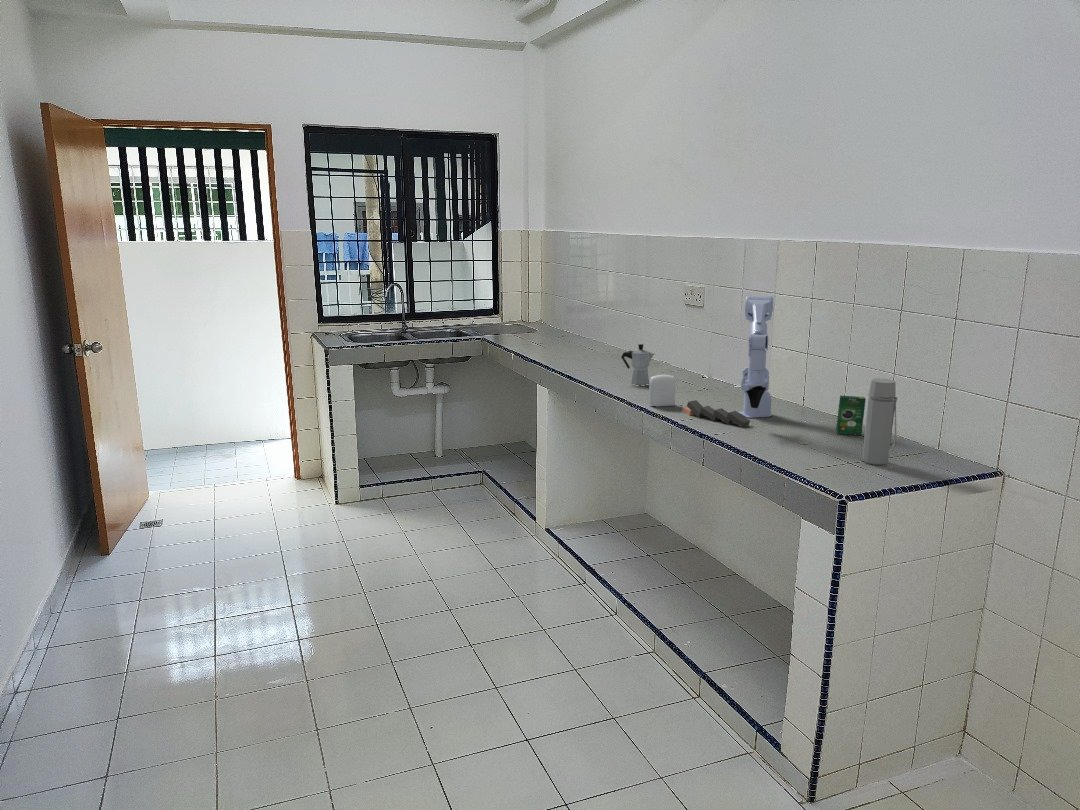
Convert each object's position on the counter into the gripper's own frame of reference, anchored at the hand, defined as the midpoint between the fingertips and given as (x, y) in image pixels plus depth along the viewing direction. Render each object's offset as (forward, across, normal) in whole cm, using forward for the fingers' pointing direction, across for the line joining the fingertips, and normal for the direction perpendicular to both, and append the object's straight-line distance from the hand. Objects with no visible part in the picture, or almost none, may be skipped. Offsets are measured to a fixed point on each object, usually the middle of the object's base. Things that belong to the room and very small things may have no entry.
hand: (754, 407), depth 267 cm
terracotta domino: (+7, -2, -26) cm, 27 cm away
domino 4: (+7, -1, -3) cm, 7 cm away
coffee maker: (+8, -32, -76) cm, 83 cm away
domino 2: (+7, -1, -15) cm, 16 cm away
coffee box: (+8, -16, +27) cm, 32 cm away
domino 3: (+7, -1, -9) cm, 11 cm away
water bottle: (+8, +9, +47) cm, 48 cm away
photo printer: (+8, -6, -44) cm, 45 cm away
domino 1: (+7, -2, -22) cm, 23 cm away
